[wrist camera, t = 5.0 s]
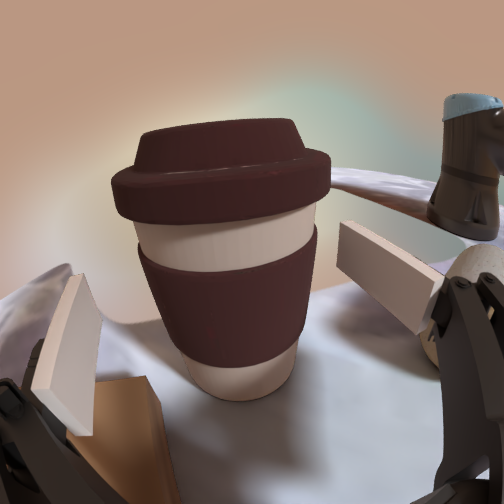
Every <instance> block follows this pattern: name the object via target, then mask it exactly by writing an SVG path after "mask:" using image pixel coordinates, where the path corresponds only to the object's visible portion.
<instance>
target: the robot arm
mask: <svg viewBox="0 0 504 504" xmlns="http://www.w3.org/2000/svg"><path fill="white" fill-rule="evenodd" d="M442 121H443V122H444V134H443V153H442V166H441V174H440V178H439V180H438V182H437V184H436V187H435V189H434V191H433V193H432V196H431V198H430V200H429V203H428V208H427V216H428V218H429V219H430V220H431V221H432V222H434V223H435V224H436V225H438V226H440V227H442V228H444V229H446V230H448V231H450V232H453V233H455V234H458V235H461V236H464V237H468V238H472V239H476V240H493V239H495V238H496V237H497V235H498V230H499V226H500V218H499V203H498V184H499V177H500V175H503V176H504V109H503V104H502V101H501V100H500V99H498V98H495V97H492V96H488V95H483V94H472V93H470V94H469V93H460V94H453V95H450V96H448V97H447V98H446V99H445V101H444V116H443V119H442ZM336 266H337V267H338V268H339V269H340V270H341V271H342V272H344V273H345V274H346V275H347V276H348V277H350V278H351V279H352V280H353V281H354V282H356V283H357V284H358V285H359V286H360V287H361V288H363V289H364V290H365V291H366V292H367V293H369V294H370V295H371V296H372V297H373V298H374V299H376V300H377V301H378V302H379V303H380V304H381V305H382V306H384V307H385V308H386V309H387V310H388V311H389V312H390V313H392V314H393V315H394V316H395V317H396V318H397V319H398V320H400V321H401V322H402V323H403V324H404V325H405V326H406V327H407V328H408V329H410V330H411V331H412V332H413V333H414V334H415V335H417V334H419V333H420V332H422V331H424V330H425V329H426V328H427V326H428V323H429V321H430V318H431V319H433V320H434V321H435V322H434V324H433V327H432V329H431V331H430V334H429V336H428V340H427V341H430V339H431V337H432V336H433V335H434V339H433V341H432V342H435V344H436V350H437V357H438V364H439V372H440V380H441V391H442V404H443V426H444V449H443V459H442V462H441V464H440V466H439V468H438V470H437V472H436V475H435V480H434V489H433V492H432V493H430V494H428V495H426V496H424V497H422V498H420V499H418V500H416V501H414V502H412V503H410V504H504V285H503V284H502V282H501V281H500V280H499V279H498V278H497V277H496V276H494V275H493V274H492V273H489V272H482V273H480V274H479V277H478V280H477V282H475V283H472V282H471V281H469V280H468V279H466V278H464V277H460V276H454V277H451V279H449V278H447V277H446V276H444V275H443V274H441V273H439V272H438V271H436V270H435V269H433V268H432V267H430V266H428V265H427V264H426V263H424V262H422V261H421V260H419V259H418V258H416V257H414V256H412V255H410V254H409V253H407V252H405V251H404V250H402V249H401V248H399V247H397V246H395V245H394V244H392V243H391V242H389V241H387V240H385V239H384V238H382V237H380V236H379V235H377V234H375V233H373V232H372V231H370V230H368V229H366V228H365V227H363V226H361V225H359V224H357V223H356V222H354V221H352V220H348V221H342V222H340V230H339V242H338V254H337V264H336ZM491 306H492V308H493V309H494V312H493V315H492V317H491V319H490V320H489V318H488V313H489V311H490V308H491ZM102 321H103V320H102V318H101V315H100V313H99V311H98V308H97V306H96V304H95V301H94V299H93V296H92V294H91V291H90V289H89V286H88V284H87V281H86V278H85V276H84V273H83V274H79V275H74V276H70V278H69V280H68V282H67V284H66V286H65V289H64V291H63V293H62V296H61V298H60V301H59V303H58V305H57V308H56V310H55V313H54V316H53V318H52V321H51V324H50V326H49V329H48V332H47V335H46V338H45V339H40V340H39V341H38V342H37V344H36V345H35V346H34V348H33V350H32V353H31V356H30V360H29V362H28V365H27V367H28V368H27V369H26V372H25V376H24V379H23V383H22V386H21V390H20V389H19V388H18V387H17V386H16V384H15V383H14V382H13V381H12V379H9V378H3V379H1V380H0V504H129V503H128V502H127V501H126V500H125V499H124V498H123V497H121V496H120V495H119V494H118V493H117V492H116V491H115V490H114V489H113V488H112V487H111V486H110V485H109V484H108V483H107V482H106V481H105V480H104V479H103V478H102V477H101V476H100V475H99V474H98V473H97V472H96V470H95V469H94V468H93V467H92V466H91V465H90V464H89V463H88V461H87V460H86V459H85V458H84V457H83V456H82V454H81V453H80V452H79V451H78V450H77V448H76V447H75V446H74V445H73V443H72V442H71V441H70V440H69V439H68V438H67V437H66V432H67V429H68V430H69V431H70V432H71V433H72V434H74V435H75V436H93V406H94V389H95V376H96V366H97V357H98V348H99V341H100V334H101V327H102ZM7 467H8V468H7ZM488 468H489V480H488V479H475V478H476V477H477V476H478V475H479V474H481V473H482V472H484V471H485V470H487V469H488Z"/></svg>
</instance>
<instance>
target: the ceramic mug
mask: <svg viewBox="0 0 504 504" xmlns="http://www.w3.org/2000/svg"><path fill="white" fill-rule="evenodd" d="M482 272H489V273H492V274H493V275H494V276H496V277H497V278H498V279H499V280H500V281H501V282H502V284H503V285H504V250H502V249H500V248H498V247H497V246H493V245H489V244H478V245H474V246H471V247H469V248H467V249H466V250H464V251H463V252H462V253H461V254H460V255H459V256H458V257H457V259H456V260H455V261H454V263H453V265H452V266H451V267H450V269H449V270H448V272H447V273H446V275H445V276H446V277H447V278H449V279H451V277H454V276H460V277H464V278H466V279H468V280H469V281H471V282H472V283H475V282H477V280H478V277H479V274H480V273H482ZM493 312H494V309H493V308H492V306H491V308H490V311H489V313H488V318H489V320H490V319H491V317H492V315H493ZM434 322H435V321H434V320H433V319H431V318H430V321H429V323H428V326H427V328H426V329H425V330H424V331H422V332H420V333H419V335H420V340H421V344H422V346H423V348H424V351H425V353H426V354H427V356H428V357H429V359H430V360H431V361H432V362H433V363H434V364H435V365H436V366H437V367H438V368H439V364H438V357H437V350H436V344H435V342H432V341H433V339H434V335H433V336H432V337H431V339H430V341H427V340H428V336H429V334H430V331H431V329H432V327H433V324H434Z"/></svg>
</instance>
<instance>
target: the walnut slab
mask: <svg viewBox="0 0 504 504" xmlns="http://www.w3.org/2000/svg"><path fill="white" fill-rule="evenodd" d="M18 388H19V389H20V390H21V387H18ZM66 437H67V438H68V439H69V440H70V441H71V442H72V443H73V445H74V446H75V447H76V448H77V450H78V451H79V452H80V453H81V454H82V456H83V457H84V458H85V459H86V460H87V461H88V463H89V464H90V465H91V466H92V467H93V468H94V469H95V470H96V472H97V473H98V474H99V475H100V476H101V477H102V478H103V479H104V480H105V481H106V482H107V483H108V484H109V485H110V486H111V487H112V488H113V489H114V490H115V491H116V492H117V493H118V494H119V495H120V496H121V497H123V498H124V499H125V500H126V501H127V502H128V503H129V504H182V503H181V500H180V496H179V492H178V489H177V485H176V481H175V476H174V472H173V468H172V463H171V459H170V454H169V449H168V444H167V438H166V433H165V427H164V421H163V415H162V408H161V403H160V401H159V399H158V397H157V396H156V394H155V392H154V390H153V389H152V387H151V385H150V383H149V381H148V379H147V377H146V375H145V376H139V377H133V378H126V379H119V380H112V381H104V382H95V389H94V406H93V436H75V435H74V434H72V433H71V432H70V431H69V430H68V429H67V432H66ZM7 468H8V467H7Z"/></svg>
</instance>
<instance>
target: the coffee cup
mask: <svg viewBox="0 0 504 504" xmlns="http://www.w3.org/2000/svg"><path fill="white" fill-rule="evenodd" d="M111 185H112V191H113V196H114V201H115V206H116V209H117V211H118V213H119V214H120V215H121V216H122V217H124V218H126V219H129V220H131V221H133V223H134V226H135V229H136V233H137V236H138V240H139V243H138V255H139V258H140V261H141V264H142V267H143V270H144V273H145V276H146V278H147V281H148V284H149V287H150V289H151V292H152V295H153V297H154V299H155V302H156V305H157V307H158V310H159V312H160V315H161V317H162V320H163V322H164V324H165V327H166V329H167V331H168V334H169V336H170V338H171V340H172V342H173V343H174V345H175V346H176V347H177V348H178V349H179V350H180V352H181V354H182V357H183V359H184V361H185V363H186V365H187V368H188V370H189V372H190V374H191V376H192V378H193V379H194V381H195V382H196V383H197V384H198V385H199V386H200V387H201V388H202V389H203V390H204V391H206V392H207V393H209V394H211V395H213V396H215V397H218V398H220V399H224V400H230V401H248V400H254V399H258V398H261V397H263V396H266V395H268V394H270V393H272V392H274V391H275V390H276V389H278V388H279V387H280V386H281V385H282V384H283V383H284V382H285V381H286V380H287V379H288V377H289V375H290V373H291V371H292V369H293V366H294V362H295V357H296V351H297V345H298V340H299V336H300V334H301V332H302V331H303V328H304V324H305V320H306V314H307V308H308V302H309V295H310V288H311V282H312V275H313V268H314V261H315V253H316V245H317V227H316V225H315V224H314V220H315V209H316V202H317V201H319V200H320V199H322V198H323V197H325V196H326V195H327V194H328V192H329V191H330V186H331V158H330V157H329V155H327V154H326V153H324V152H321V151H317V150H314V149H309V148H305V146H304V144H303V142H302V139H301V137H300V135H299V133H298V131H297V129H296V126H295V124H294V122H293V121H292V120H291V119H285V118H262V119H261V118H260V119H239V120H226V121H215V122H206V123H197V124H189V125H182V126H175V127H170V128H164V129H159V130H154V131H150V132H147V133H144V134H143V135H142V136H141V138H140V142H139V146H138V150H137V154H136V158H135V162H134V165H133V166H130V167H127V168H125V169H123V170H121V171H119V172H118V173H116V174H115V175H114V176H113V177H112V179H111Z"/></svg>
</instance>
